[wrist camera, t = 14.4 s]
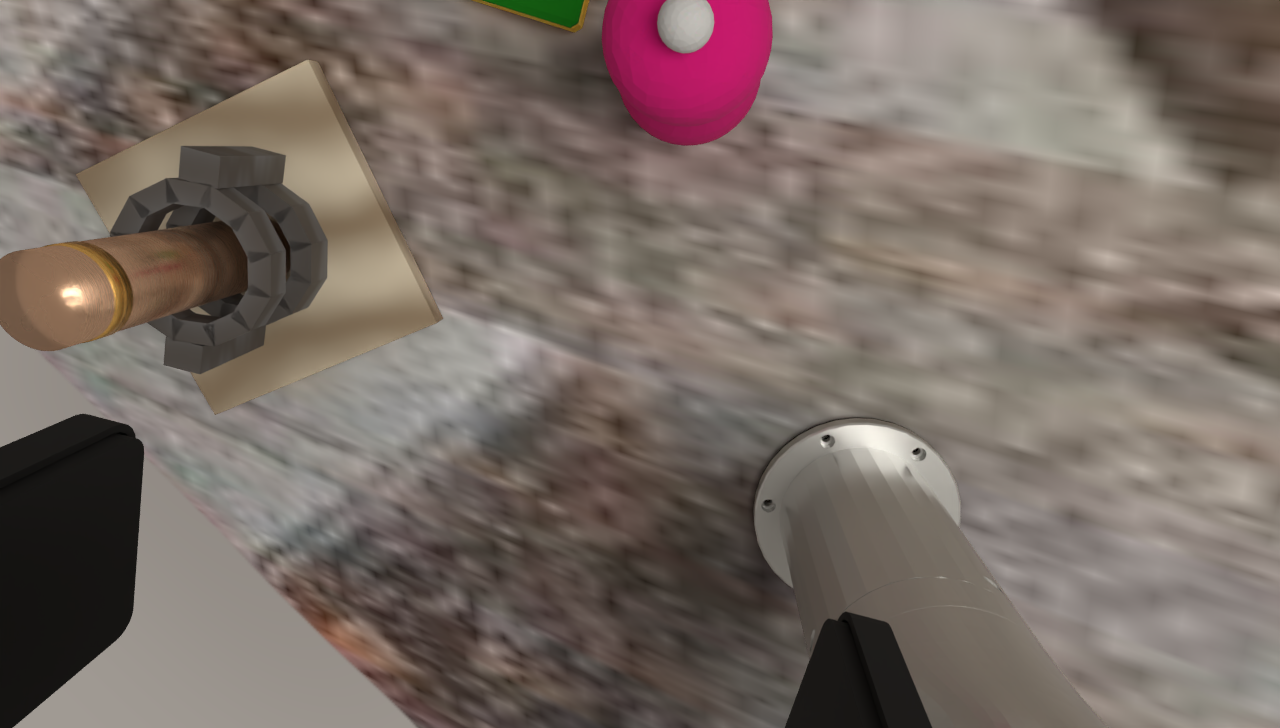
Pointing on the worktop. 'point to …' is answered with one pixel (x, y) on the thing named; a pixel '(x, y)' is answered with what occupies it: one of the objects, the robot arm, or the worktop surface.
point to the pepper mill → (687, 63)
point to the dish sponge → (546, 11)
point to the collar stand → (272, 236)
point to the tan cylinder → (118, 282)
